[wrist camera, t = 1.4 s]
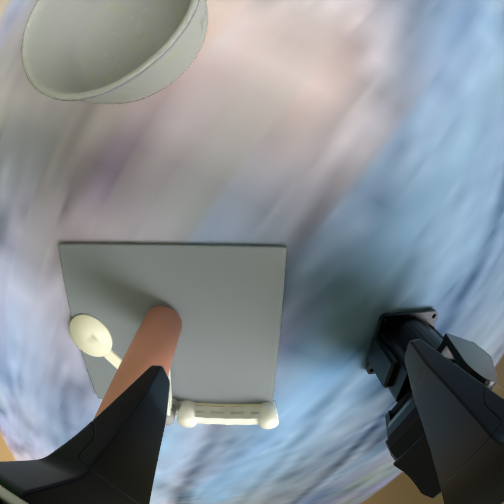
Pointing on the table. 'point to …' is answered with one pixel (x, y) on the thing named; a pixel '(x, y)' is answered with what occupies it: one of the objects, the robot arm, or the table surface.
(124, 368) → the brown cylinder with stick
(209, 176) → the table surface
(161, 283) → the board
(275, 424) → the cream dumbbell
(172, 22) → the teacup
